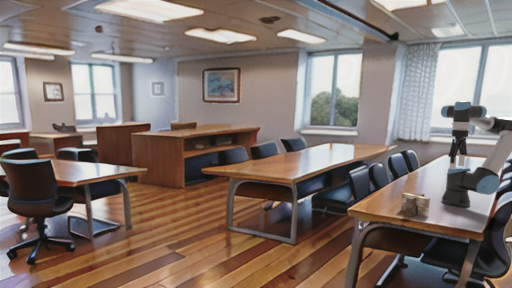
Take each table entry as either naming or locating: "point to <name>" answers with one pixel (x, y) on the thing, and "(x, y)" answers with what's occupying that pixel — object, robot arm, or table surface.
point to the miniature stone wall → (412, 205)
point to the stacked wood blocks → (417, 204)
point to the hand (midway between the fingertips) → (456, 167)
